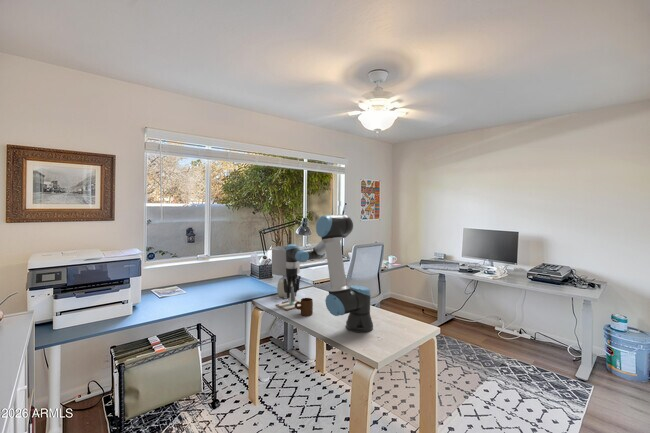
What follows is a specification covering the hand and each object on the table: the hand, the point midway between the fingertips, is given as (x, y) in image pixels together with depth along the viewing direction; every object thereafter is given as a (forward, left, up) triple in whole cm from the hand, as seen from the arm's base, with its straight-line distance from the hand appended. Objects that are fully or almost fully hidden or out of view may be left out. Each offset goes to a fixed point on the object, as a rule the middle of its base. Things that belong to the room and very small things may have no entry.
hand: (291, 301), depth 212 cm
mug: (-18, +3, -3) cm, 19 cm away
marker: (0, 0, -2) cm, 2 cm away
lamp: (+20, -8, -3) cm, 22 cm away
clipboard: (+1, 0, -3) cm, 3 cm away
